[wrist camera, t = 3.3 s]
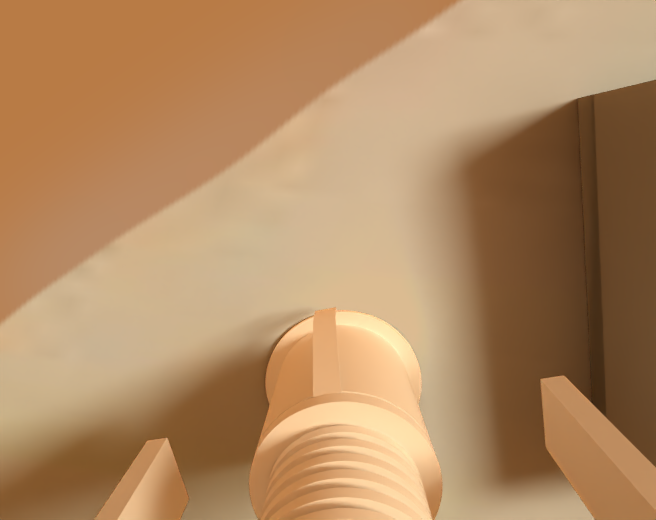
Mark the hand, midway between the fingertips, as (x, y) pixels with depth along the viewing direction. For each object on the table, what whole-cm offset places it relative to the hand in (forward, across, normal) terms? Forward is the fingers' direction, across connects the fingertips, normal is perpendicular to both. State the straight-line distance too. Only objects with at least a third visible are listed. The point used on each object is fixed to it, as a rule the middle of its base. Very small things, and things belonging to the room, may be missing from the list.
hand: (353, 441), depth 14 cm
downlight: (+5, 0, 0) cm, 5 cm away
